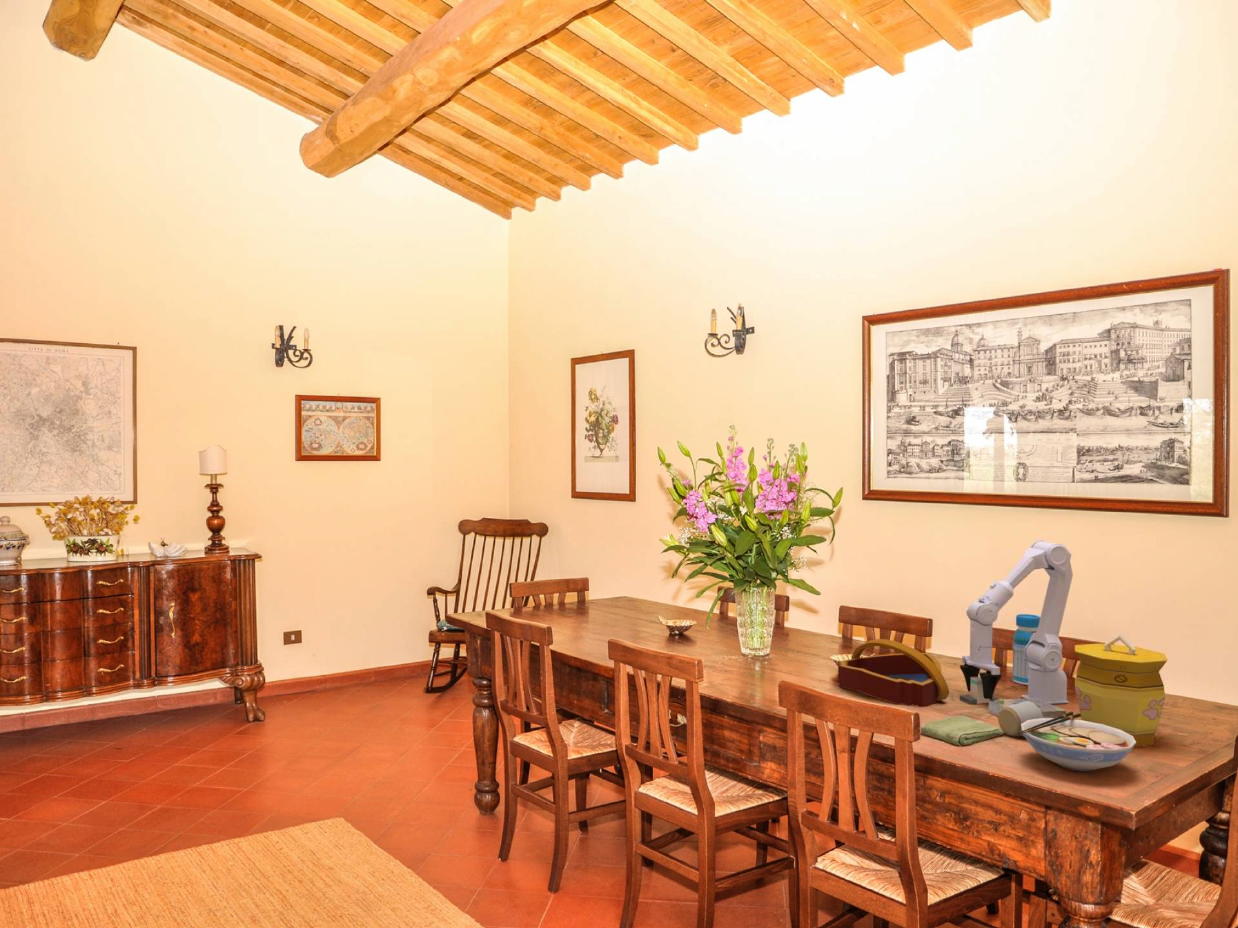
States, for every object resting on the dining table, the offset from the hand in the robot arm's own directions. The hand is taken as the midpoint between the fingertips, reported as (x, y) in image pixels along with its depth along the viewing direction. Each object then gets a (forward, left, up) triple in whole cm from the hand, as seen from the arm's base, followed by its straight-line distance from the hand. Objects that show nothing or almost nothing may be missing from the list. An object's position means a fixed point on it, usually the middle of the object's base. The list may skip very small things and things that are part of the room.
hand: (979, 694), depth 256 cm
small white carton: (0, 0, -2) cm, 2 cm away
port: (-3, +16, -2) cm, 16 cm away
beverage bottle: (-27, -17, -2) cm, 32 cm away
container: (-15, +34, -2) cm, 37 cm away
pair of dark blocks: (0, 0, -2) cm, 2 cm away
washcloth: (+22, +26, -2) cm, 34 cm away
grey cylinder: (+7, +30, -2) cm, 31 cm away
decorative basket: (+18, -15, -2) cm, 23 cm away
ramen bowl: (+10, +51, -2) cm, 52 cm away
